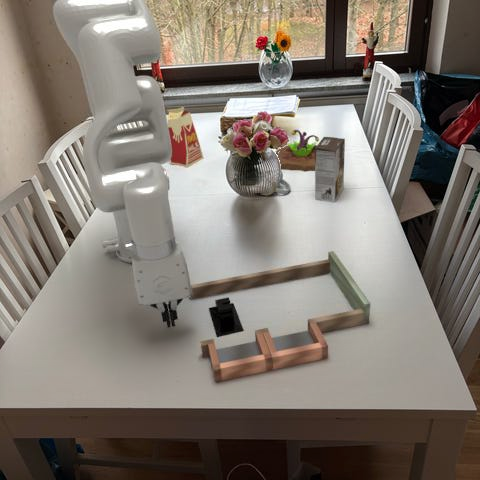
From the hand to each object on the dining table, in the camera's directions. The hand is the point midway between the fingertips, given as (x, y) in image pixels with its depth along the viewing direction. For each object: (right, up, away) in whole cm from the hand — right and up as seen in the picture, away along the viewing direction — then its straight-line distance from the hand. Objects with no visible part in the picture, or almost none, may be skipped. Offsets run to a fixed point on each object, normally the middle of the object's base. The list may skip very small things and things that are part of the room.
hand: (170, 322), depth 99 cm
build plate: (+11, 0, +3) cm, 11 cm away
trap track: (+22, +1, +2) cm, 22 cm away
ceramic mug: (+24, +31, +52) cm, 66 cm away
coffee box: (+40, +30, +47) cm, 69 cm away
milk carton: (-6, +45, +78) cm, 90 cm away
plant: (+35, +44, +71) cm, 91 cm away
